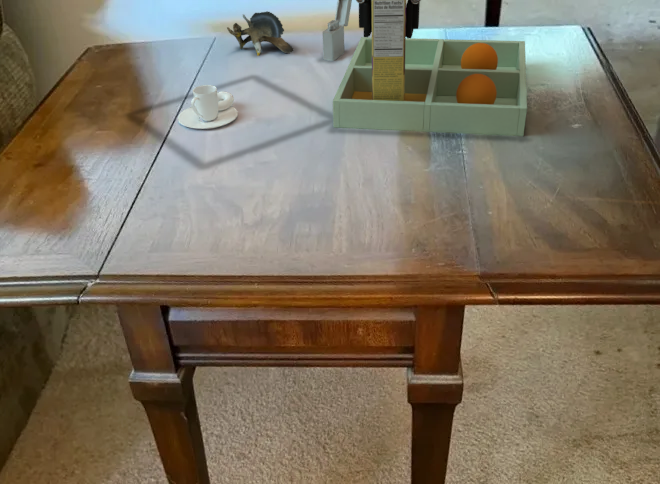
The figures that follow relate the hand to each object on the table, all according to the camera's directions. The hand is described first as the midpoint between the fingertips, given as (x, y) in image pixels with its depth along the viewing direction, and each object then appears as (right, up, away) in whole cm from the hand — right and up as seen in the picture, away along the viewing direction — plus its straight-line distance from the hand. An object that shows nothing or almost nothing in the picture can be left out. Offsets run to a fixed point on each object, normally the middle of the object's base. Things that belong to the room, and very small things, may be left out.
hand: (388, 32), depth 94 cm
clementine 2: (+11, -9, +4) cm, 15 cm away
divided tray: (+7, -5, +10) cm, 13 cm away
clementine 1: (+14, -2, +13) cm, 19 cm away
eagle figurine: (-17, +7, +27) cm, 33 cm away
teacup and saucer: (-20, -9, +8) cm, 23 cm away
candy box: (0, -8, +6) cm, 10 cm away
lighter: (-5, +6, +25) cm, 26 cm away
